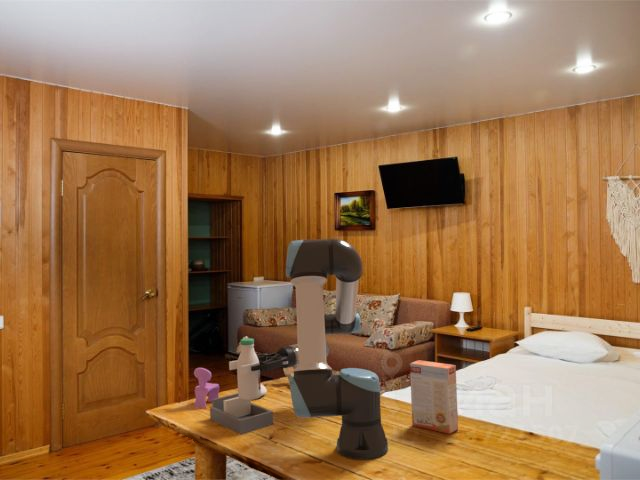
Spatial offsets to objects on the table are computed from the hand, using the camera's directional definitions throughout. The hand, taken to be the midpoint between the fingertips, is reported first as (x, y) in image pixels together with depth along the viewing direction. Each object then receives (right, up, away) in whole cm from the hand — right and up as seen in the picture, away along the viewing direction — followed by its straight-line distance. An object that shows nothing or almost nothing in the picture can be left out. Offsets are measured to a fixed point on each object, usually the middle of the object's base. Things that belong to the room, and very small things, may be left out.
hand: (235, 368), depth 180 cm
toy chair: (-15, -21, +28) cm, 38 cm away
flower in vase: (+1, -20, +36) cm, 42 cm away
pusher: (-1, -19, +8) cm, 21 cm away
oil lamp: (+21, -20, +48) cm, 56 cm away
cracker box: (+66, -18, -6) cm, 68 cm away
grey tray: (+1, -20, +6) cm, 21 cm away
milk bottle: (+4, -11, +3) cm, 12 cm away
